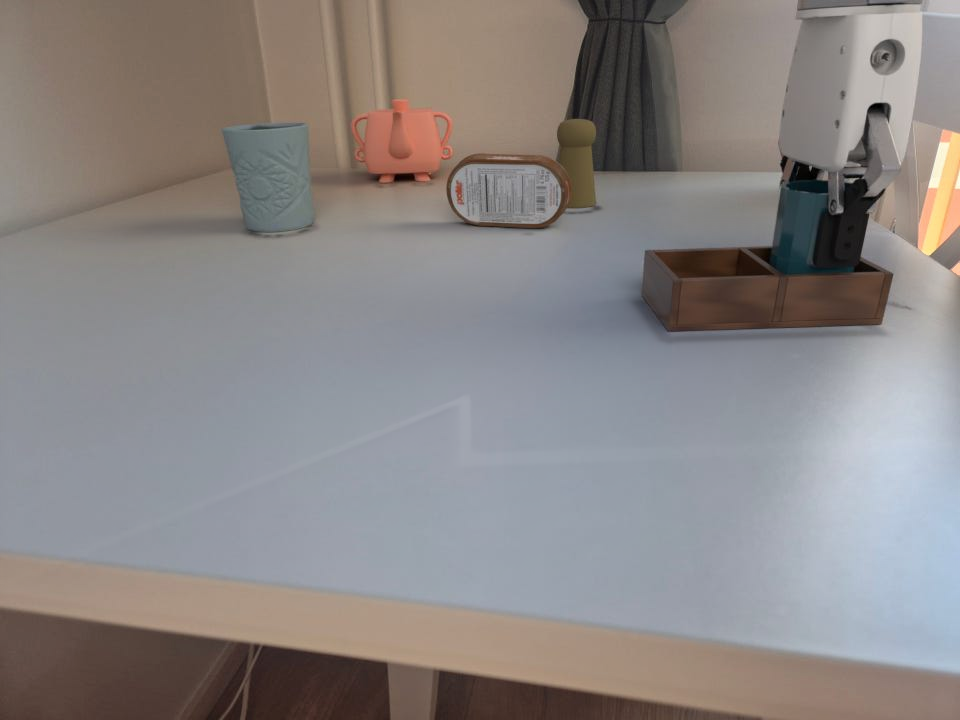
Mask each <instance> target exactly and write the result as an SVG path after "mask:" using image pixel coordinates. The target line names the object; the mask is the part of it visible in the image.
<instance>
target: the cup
mask: <svg viewBox="0 0 960 720" xmlns="http://www.w3.org/2000/svg"><path fill="white" fill-rule="evenodd" d="M852 183H853V182H851V181H846V180H844V185H845V191H846V190H847V189H848V188H849V187H850V185H851V184H852ZM822 212H829V207H828V179H822V180H796V181H789V182H785V183H783V184H781V187H780V189H779V195H778V201H777V208H776V214H775V221H774V226H773V227H774V228H773V234H772V241H771V246H772V247H771V253H770V260H769V265H771V266H772V267H774V268H775V269H776V270H778V271H779V272H781V273H782V274H784V275H794V274H825V273H853V271H854V267H835V268H818V267H817V266H815V265H814V264H813V259H814V253H815V247H816V242H817V236H818V231H819V225H820V219H821V214H822Z"/></svg>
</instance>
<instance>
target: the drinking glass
mask: <svg viewBox="0 0 960 720" xmlns="http://www.w3.org/2000/svg"><path fill="white" fill-rule="evenodd" d="M221 133H222V136H223V140H224V143H225V147H226V151H227V155H228V159H229V162H230V167H231V170H232V172H233V174H234V180H235V185H236V189H237V193H238V196H239V206H240V210H241V213H242V218H243V221H244V226H245V229H247V230H249V231H253V232H259V233H278V232H290V231H294V230H300V229H303V228H306V227H309V226H311V225H313V224H314V221H315V210H314V198H313V194H312V188H311V187H312V178H311V170H310V169H311V168H310V165H311V164H310V161H311V157H310V137H309V124H308V123H306V122H268V123H251V124H249V123H248V124H238V125H232V126H226V127H223V128H222V129H221Z"/></svg>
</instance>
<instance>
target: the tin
mask: <svg viewBox="0 0 960 720" xmlns="http://www.w3.org/2000/svg"><path fill="white" fill-rule="evenodd" d="M558 162H559V161H557V160H555V159H554V158H552V157H550V156H547V155H542V154H517V153H516V154H515V153H486V152H485V153H483V152H482V153H480V152H479V153H473V154H469V155H467V156H466V157H464V158H463V159H461V160H460V161H459V162H458V163H457V164H456V165H455V166H454V168H453V169H452V170H451V172H450V174H449V175H448V178H447V182H446V188H445V189H446V198H447V201H448V205H449V207H450V208H451V210H452V212H453V213H454V214H455V215H456V216H457V217H458V218H459V219H460V220H462V221H463V222H465V223H467V224H470V225H472V226H478V227H479V226H481V227H499V228H500V227H501V228H518V229H519V228H521V229H522V228H523V229H543V228H545V227H548V226H550V225H552V224H554V223H556V221H557V220H559V219H560V217H561V216H562V215H563V214H564V213H565V211H566V210H567V209H568V208H567V207H568V204H569V202H570V199H571V182H570V179H569V176H568V174H567V172H566V171H565V169H564V168H563V167H562V166H561V165H560V164H559V163H558Z"/></svg>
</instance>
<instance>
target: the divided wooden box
mask: <svg viewBox="0 0 960 720" xmlns="http://www.w3.org/2000/svg"><path fill="white" fill-rule="evenodd" d="M771 247H772V245H766V246H764V245H763V246H761V245H759V246H729V247H700V248H696V247H695V248H671V249H670V248H669V249H668V248H667V249H645V250H644V257H643V271H642V284H641V294H640V295H641V296H642V298H643V300H644V301H645V302H646V303H647V305H648V306H649V307H650V309H651V310H652V311H653V312H654V314H655V316H656V317H657V318H658V319H659V321H660V323H662V325H663V326H664V327H665V329H666V330H667V332H687V331H692V332H693V331H717V330H718V331H719V330H722V331H723V330H749V329H779V328H780V329H781V328H810V327H811V328H812V327H836V326H837V327H838V326H840V327H841V326H867V325H868V326H871V325H873V326H874V325H882V324H883V320H884V317H885V312H886V307H887V304H888V300H889V295H890V291H891V287H892V283H893V278H894V273H893V272H891V271H890V270H887V269H885V268H884V267H882V266H880V265H877V264H876V263H874V262H872V261H870V260H868V259H866V258H864V257H862V256H861V258H860V262H859V264H858V265H857V266H855V267H854V271H853V273H825V274H794V275H784V274H782V273H781V272H779V271H778V270H776V269H775V268H774V267H772V266H771V265H769V260H770V253H771Z"/></svg>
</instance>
